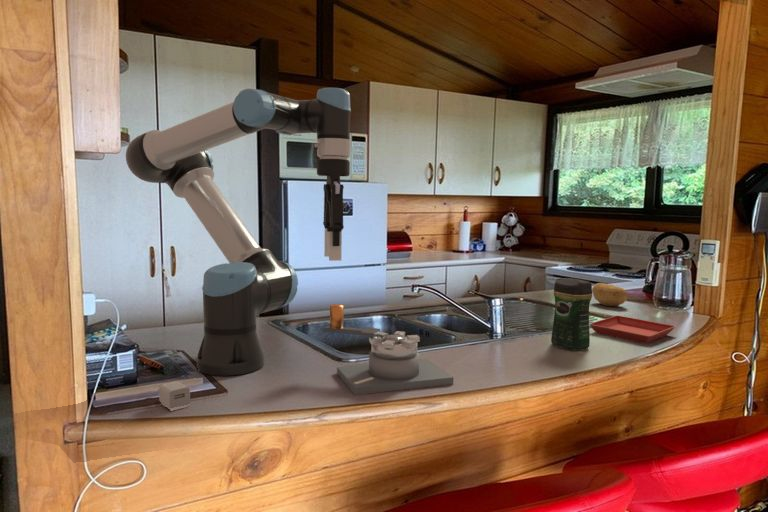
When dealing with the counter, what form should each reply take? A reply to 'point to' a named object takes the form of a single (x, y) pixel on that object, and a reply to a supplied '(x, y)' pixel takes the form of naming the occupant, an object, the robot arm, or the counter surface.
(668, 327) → the plant saucer
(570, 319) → the coffee jar
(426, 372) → the base plate
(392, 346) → the bar with orange knob
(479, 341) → the counter surface
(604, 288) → the potato
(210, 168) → the robot arm
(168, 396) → the usb wall charger
